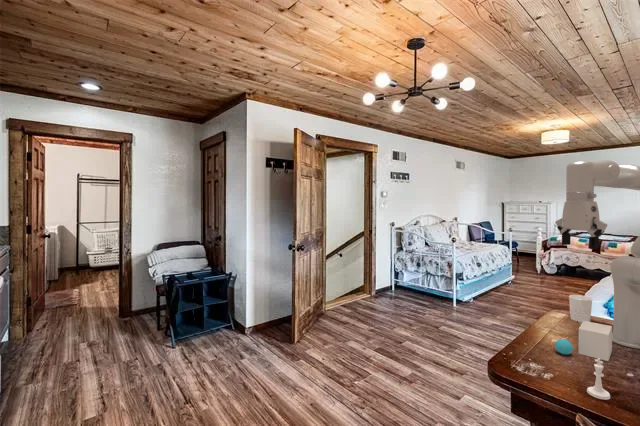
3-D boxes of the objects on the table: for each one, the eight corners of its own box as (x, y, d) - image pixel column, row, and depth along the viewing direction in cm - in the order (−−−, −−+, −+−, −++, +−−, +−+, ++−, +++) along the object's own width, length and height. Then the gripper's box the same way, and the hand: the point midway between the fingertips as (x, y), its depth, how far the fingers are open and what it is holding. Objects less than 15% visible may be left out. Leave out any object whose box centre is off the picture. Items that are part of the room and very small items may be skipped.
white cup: (596, 323, 139) (596, 300, 139) (574, 322, 141) (575, 299, 140) (585, 317, 147) (585, 295, 146) (565, 316, 148) (565, 294, 148)
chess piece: (603, 401, 87) (604, 364, 87) (582, 391, 92) (583, 356, 91) (614, 396, 89) (614, 360, 89) (593, 387, 94) (593, 352, 93)
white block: (583, 344, 120) (583, 320, 120) (611, 351, 115) (612, 326, 114) (578, 353, 114) (578, 328, 113) (608, 361, 108) (608, 334, 108)
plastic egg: (562, 349, 117) (562, 335, 116) (576, 356, 112) (576, 341, 112) (551, 351, 116) (551, 337, 115) (564, 358, 111) (564, 343, 111)
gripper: (615, 196, 106) (614, 249, 107) (564, 197, 123) (564, 243, 124) (597, 197, 105) (596, 250, 105) (548, 198, 122) (548, 244, 122)
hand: (579, 246), depth 115 cm, fingers open, 9 cm apart
